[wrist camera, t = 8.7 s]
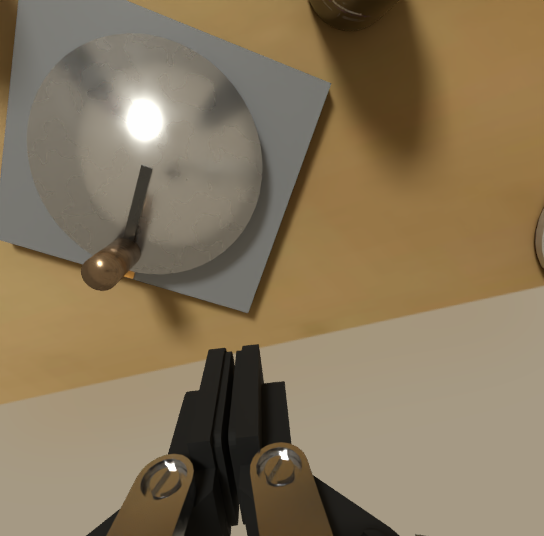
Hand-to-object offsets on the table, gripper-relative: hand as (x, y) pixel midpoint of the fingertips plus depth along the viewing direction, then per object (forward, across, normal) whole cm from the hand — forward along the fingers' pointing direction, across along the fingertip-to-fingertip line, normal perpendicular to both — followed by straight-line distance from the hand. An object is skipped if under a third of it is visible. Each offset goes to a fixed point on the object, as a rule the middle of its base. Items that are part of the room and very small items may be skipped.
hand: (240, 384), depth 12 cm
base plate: (+21, +7, -6) cm, 23 cm away
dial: (+19, +7, -7) cm, 22 cm away
